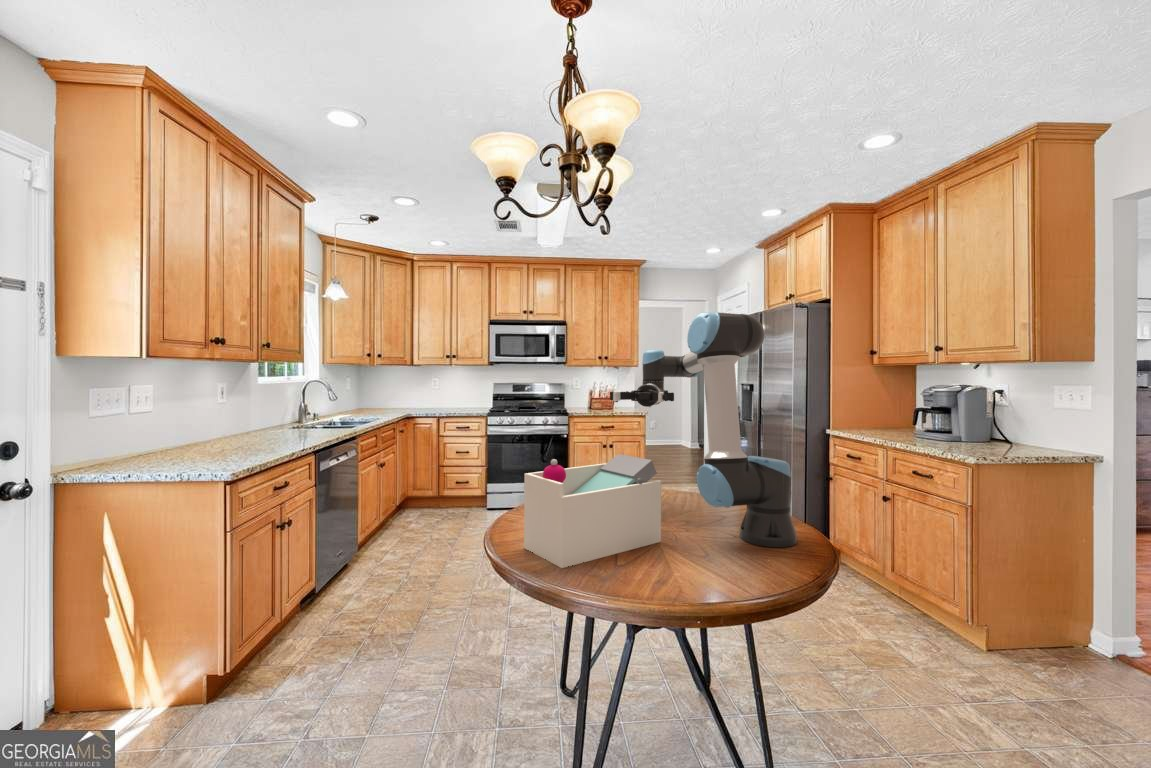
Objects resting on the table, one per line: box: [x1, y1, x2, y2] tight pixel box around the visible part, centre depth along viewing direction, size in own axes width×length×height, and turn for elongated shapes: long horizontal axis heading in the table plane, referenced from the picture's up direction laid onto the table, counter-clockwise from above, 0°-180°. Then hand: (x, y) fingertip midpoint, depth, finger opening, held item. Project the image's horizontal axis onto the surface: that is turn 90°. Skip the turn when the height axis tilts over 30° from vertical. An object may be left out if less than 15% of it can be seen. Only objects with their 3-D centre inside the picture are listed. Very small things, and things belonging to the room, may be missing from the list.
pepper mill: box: [543, 458, 566, 483], centre depth 132 cm, size 7×7×20 cm
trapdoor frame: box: [523, 462, 662, 569], centre depth 139 cm, size 19×34×20 cm, turn 127°
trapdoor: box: [571, 453, 657, 495], centre depth 142 cm, size 14×22×4 cm, turn 127°
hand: (636, 397), depth 152 cm, fingers open, 13 cm apart
